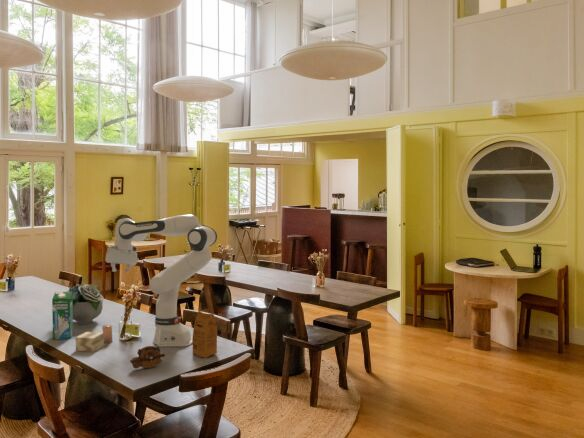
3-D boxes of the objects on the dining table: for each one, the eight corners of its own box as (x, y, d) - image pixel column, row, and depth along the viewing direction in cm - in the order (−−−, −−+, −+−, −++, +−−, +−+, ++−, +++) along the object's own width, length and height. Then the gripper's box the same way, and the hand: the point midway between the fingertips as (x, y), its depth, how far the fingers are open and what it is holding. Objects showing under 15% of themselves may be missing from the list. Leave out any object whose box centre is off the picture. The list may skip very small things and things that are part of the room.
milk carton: (52, 339, 277) (52, 295, 276) (55, 335, 286) (55, 291, 284) (70, 338, 280) (69, 294, 278) (73, 333, 288) (72, 291, 287)
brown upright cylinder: (113, 340, 277) (113, 325, 276) (109, 343, 272) (109, 327, 271) (105, 340, 278) (105, 324, 277) (101, 343, 273) (101, 326, 272)
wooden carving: (132, 372, 231) (132, 351, 230) (129, 369, 235) (129, 348, 234) (166, 365, 241) (166, 345, 240) (163, 362, 245) (163, 342, 244)
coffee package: (204, 349, 266) (204, 308, 264) (219, 354, 257) (219, 312, 256) (189, 353, 258) (189, 311, 257) (204, 359, 250) (204, 316, 248)
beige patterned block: (103, 345, 269) (103, 332, 268) (93, 351, 259) (93, 338, 258) (86, 344, 270) (86, 331, 270) (75, 350, 260) (75, 337, 260)
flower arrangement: (96, 328, 299) (96, 288, 298) (55, 327, 300) (54, 287, 298) (112, 317, 324) (111, 280, 322) (74, 316, 325) (73, 279, 323)
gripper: (112, 245, 270) (110, 270, 267) (139, 248, 288) (138, 273, 285) (103, 245, 273) (101, 271, 270) (131, 249, 290) (130, 273, 288)
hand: (120, 272), depth 278 cm, fingers open, 8 cm apart
